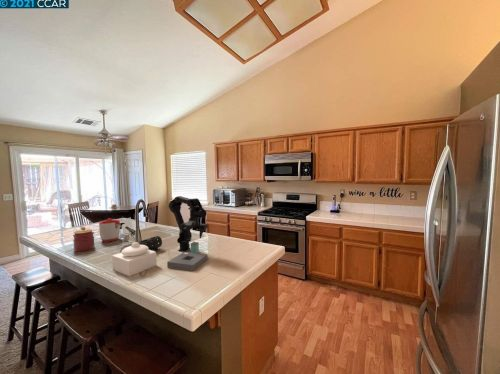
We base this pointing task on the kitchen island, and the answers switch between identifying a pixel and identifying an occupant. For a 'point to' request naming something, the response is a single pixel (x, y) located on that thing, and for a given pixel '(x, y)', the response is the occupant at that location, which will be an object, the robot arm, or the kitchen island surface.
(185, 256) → the outlet plate
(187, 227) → the robot arm
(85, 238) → the canister
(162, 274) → the kitchen island surface
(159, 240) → the muzzle brake
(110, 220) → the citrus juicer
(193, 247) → the block
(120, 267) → the butter dish
